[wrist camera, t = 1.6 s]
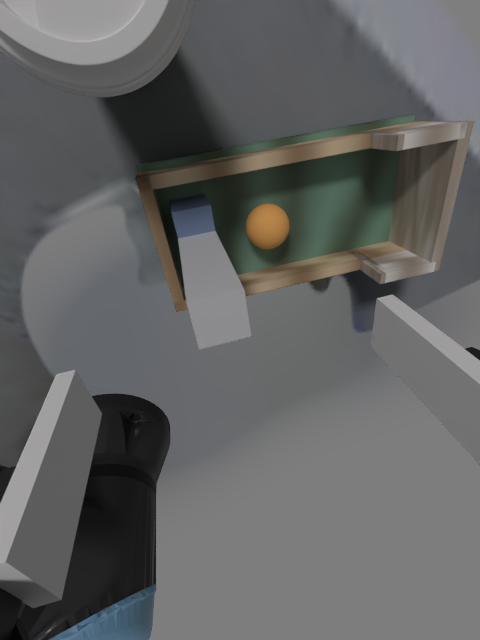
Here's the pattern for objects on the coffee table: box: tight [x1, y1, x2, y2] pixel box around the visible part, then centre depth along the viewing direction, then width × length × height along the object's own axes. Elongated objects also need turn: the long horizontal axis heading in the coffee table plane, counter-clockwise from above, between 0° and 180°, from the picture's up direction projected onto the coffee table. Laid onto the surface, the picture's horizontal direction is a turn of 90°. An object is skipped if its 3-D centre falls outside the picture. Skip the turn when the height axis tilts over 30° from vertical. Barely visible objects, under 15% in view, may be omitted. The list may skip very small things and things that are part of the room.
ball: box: [246, 203, 290, 249], centre depth 28 cm, size 4×4×4 cm
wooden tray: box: [136, 115, 474, 312], centre depth 28 cm, size 25×13×8 cm, turn 98°
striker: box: [170, 194, 251, 349], centre depth 23 cm, size 3×7×15 cm, turn 8°
